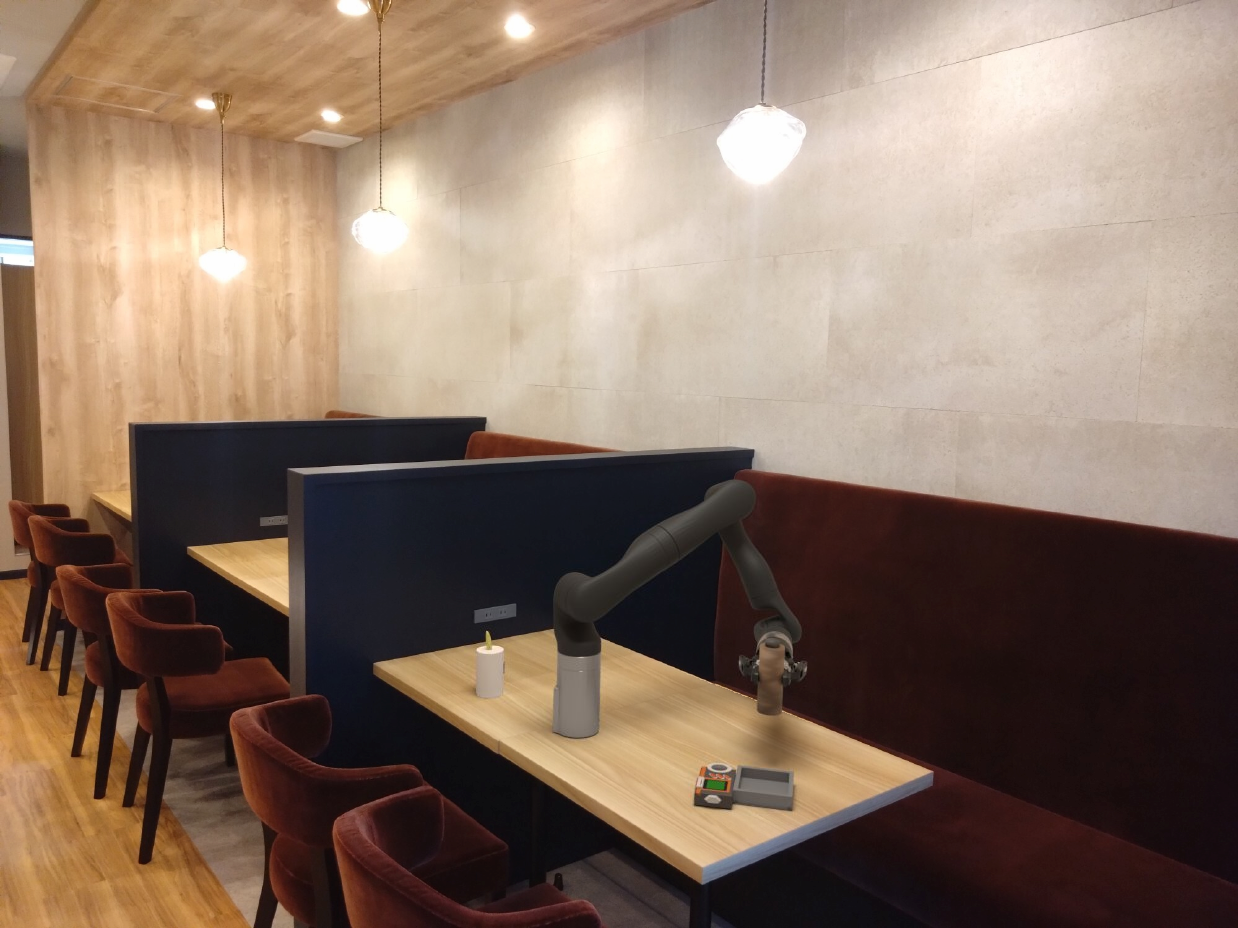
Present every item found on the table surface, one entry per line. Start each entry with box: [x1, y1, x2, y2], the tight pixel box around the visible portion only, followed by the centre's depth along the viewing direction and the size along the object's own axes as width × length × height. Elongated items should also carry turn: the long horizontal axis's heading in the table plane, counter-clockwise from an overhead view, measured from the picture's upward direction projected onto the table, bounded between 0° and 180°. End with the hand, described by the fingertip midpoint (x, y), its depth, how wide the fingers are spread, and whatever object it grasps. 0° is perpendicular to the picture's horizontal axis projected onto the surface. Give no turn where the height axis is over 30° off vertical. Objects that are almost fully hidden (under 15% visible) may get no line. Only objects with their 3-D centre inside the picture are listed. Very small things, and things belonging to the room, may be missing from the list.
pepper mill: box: [756, 638, 785, 717], centre depth 175 cm, size 5×5×14 cm
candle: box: [475, 630, 506, 699], centre depth 210 cm, size 6×6×15 cm
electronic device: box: [693, 762, 737, 809], centre depth 166 cm, size 7×3×15 cm
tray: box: [732, 764, 795, 811], centre depth 165 cm, size 10×10×2 cm
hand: (770, 680), depth 173 cm, fingers closed on pepper mill, 4 cm apart
